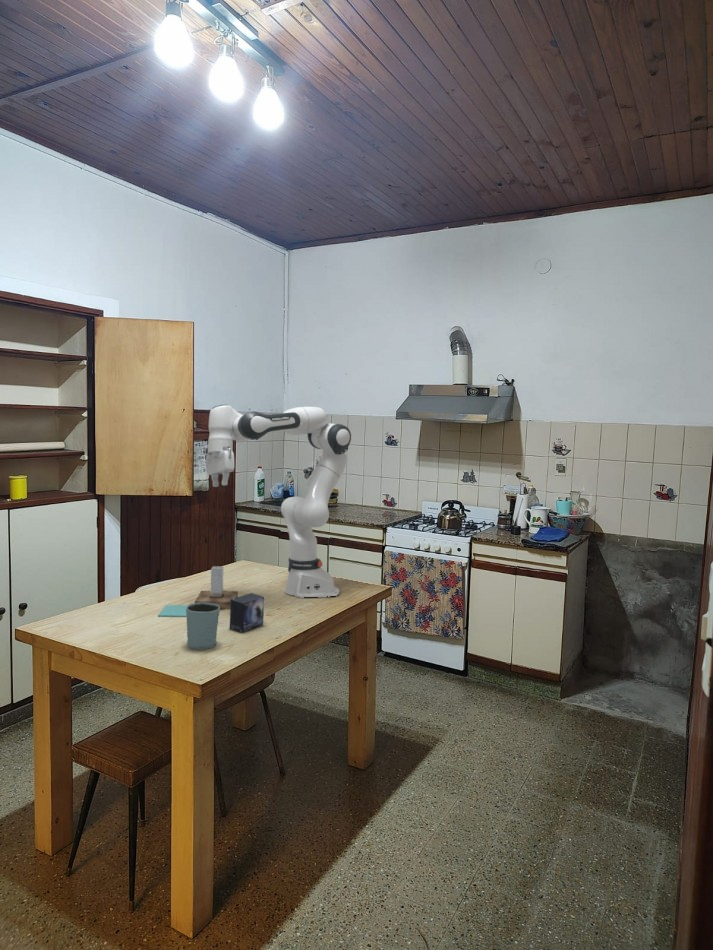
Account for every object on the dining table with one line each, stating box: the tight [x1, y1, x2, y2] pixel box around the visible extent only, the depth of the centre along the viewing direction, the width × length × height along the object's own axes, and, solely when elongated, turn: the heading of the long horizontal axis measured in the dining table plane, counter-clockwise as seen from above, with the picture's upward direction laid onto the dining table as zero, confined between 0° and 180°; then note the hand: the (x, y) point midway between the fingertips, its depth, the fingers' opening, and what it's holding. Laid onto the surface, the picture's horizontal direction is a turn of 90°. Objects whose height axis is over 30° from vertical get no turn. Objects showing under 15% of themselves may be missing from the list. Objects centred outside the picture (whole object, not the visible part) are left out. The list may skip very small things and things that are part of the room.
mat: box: [157, 604, 189, 618], centre depth 221 cm, size 12×12×1 cm
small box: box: [228, 592, 265, 634], centre depth 207 cm, size 11×6×10 cm, turn 147°
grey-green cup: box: [185, 602, 220, 650], centre depth 190 cm, size 10×10×12 cm
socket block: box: [194, 590, 239, 611], centre depth 232 cm, size 14×14×3 cm
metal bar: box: [210, 565, 224, 598], centre depth 231 cm, size 4×4×14 cm
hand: (220, 485), depth 223 cm, fingers open, 8 cm apart
